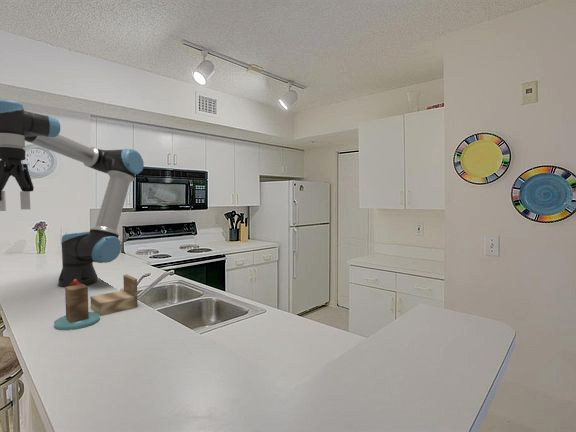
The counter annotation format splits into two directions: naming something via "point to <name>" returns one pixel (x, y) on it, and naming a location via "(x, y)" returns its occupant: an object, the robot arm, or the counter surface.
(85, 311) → the block
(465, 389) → the counter surface
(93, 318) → the teal flattened ellipsoid
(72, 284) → the onion
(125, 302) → the ledge
